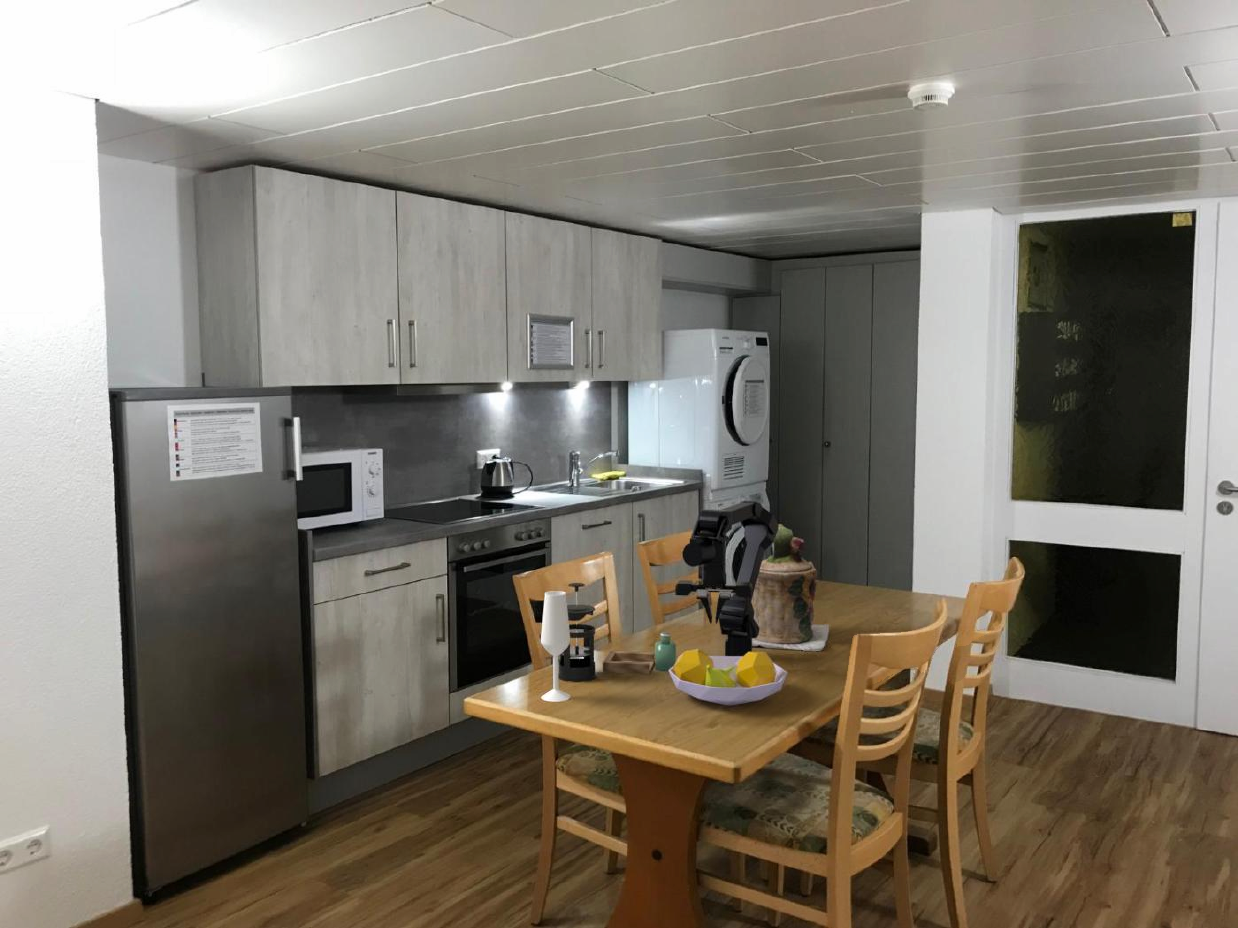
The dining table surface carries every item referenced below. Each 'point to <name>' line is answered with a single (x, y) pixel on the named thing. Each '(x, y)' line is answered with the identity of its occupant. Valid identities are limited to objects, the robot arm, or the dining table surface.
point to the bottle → (665, 653)
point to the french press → (578, 666)
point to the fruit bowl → (727, 677)
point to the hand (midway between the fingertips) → (713, 622)
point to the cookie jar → (787, 598)
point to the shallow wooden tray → (628, 662)
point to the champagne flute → (555, 637)
